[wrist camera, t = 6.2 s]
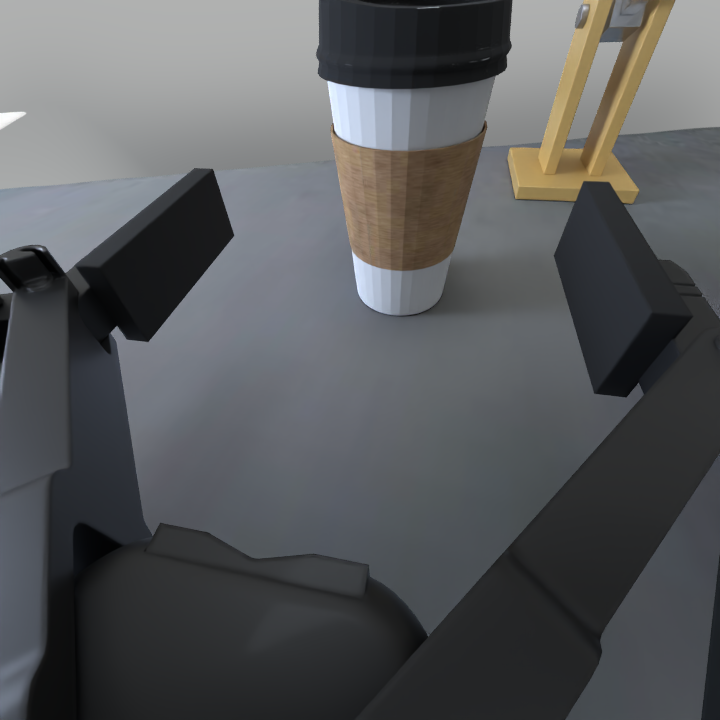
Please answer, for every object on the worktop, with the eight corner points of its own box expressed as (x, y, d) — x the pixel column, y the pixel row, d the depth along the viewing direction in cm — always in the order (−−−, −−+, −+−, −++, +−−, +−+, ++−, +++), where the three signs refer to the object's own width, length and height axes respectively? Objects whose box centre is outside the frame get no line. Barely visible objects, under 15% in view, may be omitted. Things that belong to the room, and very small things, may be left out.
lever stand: (633, 204, 33) (747, -19, 22) (515, 199, 34) (572, -11, 24) (605, 161, 39) (684, -26, 29) (507, 159, 41) (549, -20, 31)
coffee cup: (371, 246, 30) (366, -21, 19) (475, 270, 27) (542, -27, 16) (317, 307, 25) (265, -6, 14) (437, 345, 22) (496, -11, 11)
